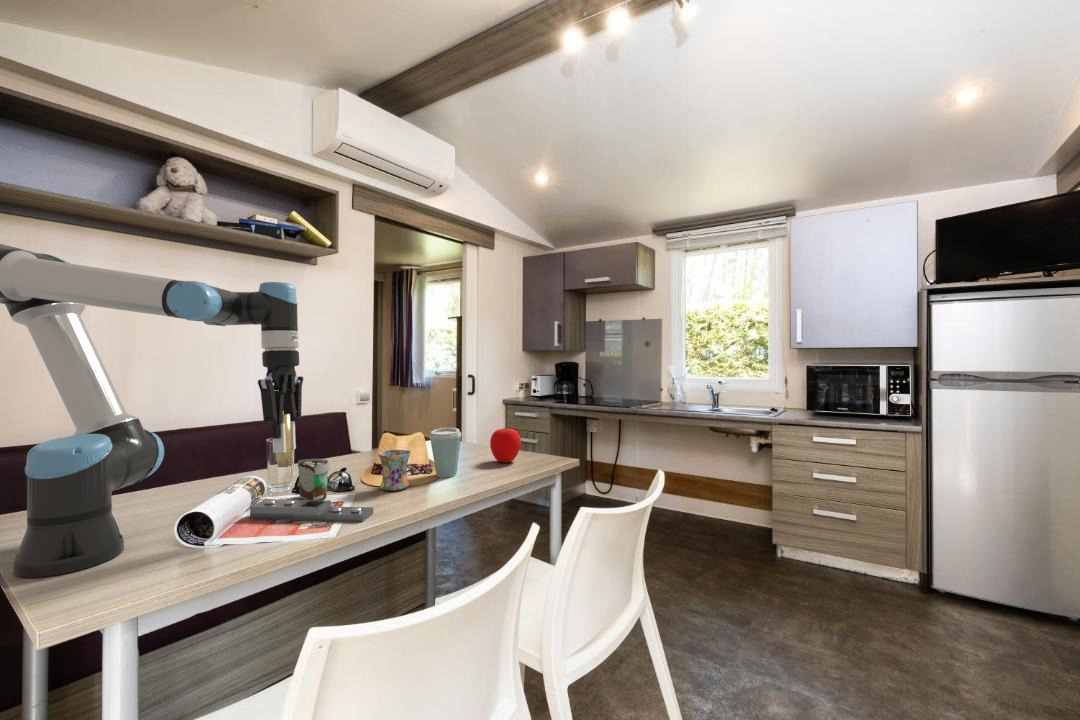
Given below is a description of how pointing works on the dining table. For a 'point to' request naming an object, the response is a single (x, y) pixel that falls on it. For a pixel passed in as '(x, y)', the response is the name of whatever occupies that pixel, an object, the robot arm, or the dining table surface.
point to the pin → (286, 457)
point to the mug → (394, 469)
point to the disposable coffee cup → (445, 450)
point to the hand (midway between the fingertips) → (284, 450)
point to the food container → (313, 478)
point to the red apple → (505, 444)
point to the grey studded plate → (307, 511)
